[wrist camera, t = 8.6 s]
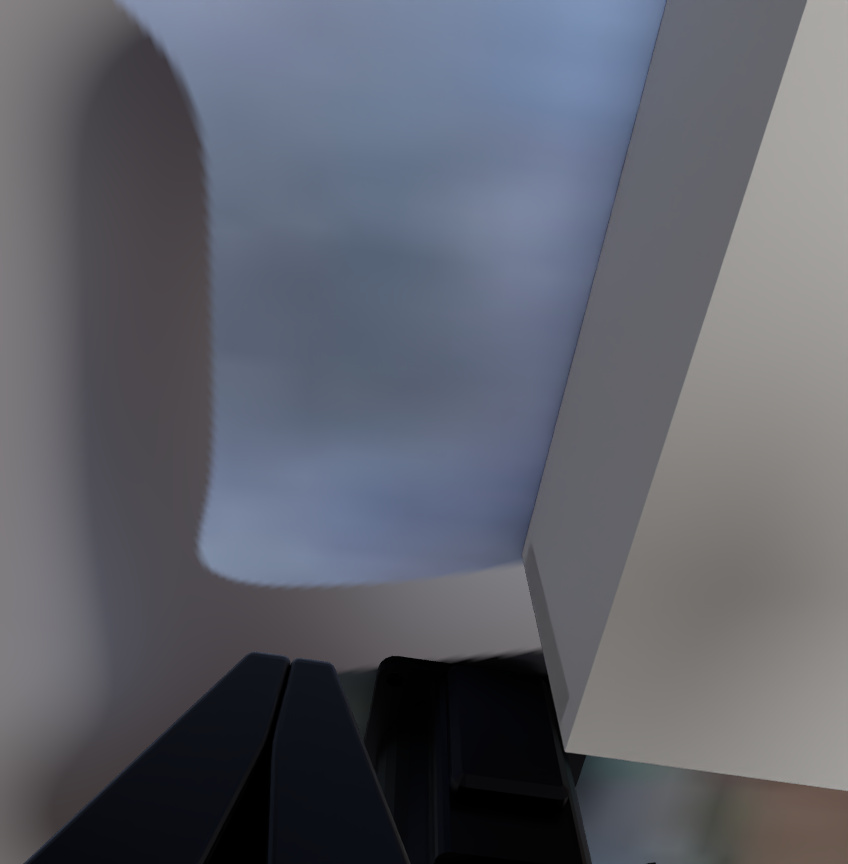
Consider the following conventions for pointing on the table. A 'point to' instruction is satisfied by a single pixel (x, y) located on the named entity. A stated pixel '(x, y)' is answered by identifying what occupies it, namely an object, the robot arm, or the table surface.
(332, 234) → the table surface
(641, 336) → the cabinet
